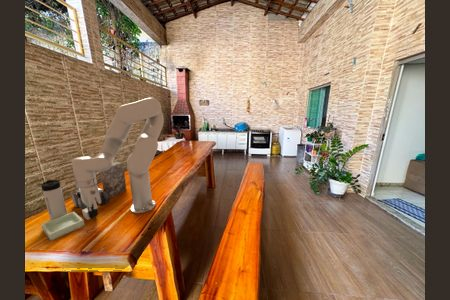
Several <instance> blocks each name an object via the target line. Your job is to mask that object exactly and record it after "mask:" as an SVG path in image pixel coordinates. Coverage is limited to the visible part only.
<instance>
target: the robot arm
mask: <svg viewBox="0 0 450 300" xmlns="http://www.w3.org/2000/svg"><path fill="white" fill-rule="evenodd" d="M144 120H145V123H144V125H143V127H142V130H141V132H140V134H139V135H138V137H137V139H136V143H135V146H134V149H133V151H132V152H131V153H130V154H129V155H128V156H127V160H126V169H127V171H128V176H129V185H130V192H131V198H132V205H131V206H130V209H129V210H130V211H131V212H132V213H134V214H142V213H143V214H144V213H147V212H149V211H151V210H153V209H154V207H155V206H156V201H155V200H154V199H153V197H152V189H151V182H150V180H151V178H150V171H149V168H150V166H151V164H152V162H153V159H154V157H155V155H156V154H157V151H158V147H159V143H158V139H159V136H160V134H161V131H162V129H163V127H164V124H165V123H164V122H165V119H164V114H163V111H162V104H161V102H160V101H159V100H158V99H156V98H154V97H147V98H144V99H141V100H137V101H135V102H130V103H126V104H123V105H120V106H118V107H117V108H116V110H115V115H114V117H113V119H112V121H111V123H110V125H109V127H108V129H107V131H106V132H105V137H104V138H105V139H104V142H103V144H102V145H101V147H100V150H99V152H98V153H97V156H96V157H92V156H90V155H89V156H88V155H87V156H86V155H85V156H77V157H74V158H73V159H72V160H71V164H72V169H73V172H74V175H75V179H74V181H75V180H76V184H77V188H79V189H80V194H81V199H82V202H83V203H84V204H85V205H86V206H87V209H88V214H89V218H91V219H94V218H96V217H98V216H99V213H98V208H99V207H98V204H99V205H101V204H102V201H101V198H100V194H99V191H98V188H97V186H98V185H97V184H98V179H97V174H96V173H99V172H104V171H107V170H109V169H110V168H111V166H112V163H114V161H115V159H116V156H117V155H118V153H119V151H120V149H121V147H122V145H123V144H124V143H125V141H126V139H127V138H128V136H129V133H130V132H131V129H132V128H133V126H134V124H135V123H137V122H138V123H139V122H141V121H144ZM74 175H73V176H74ZM76 184H75V185H76ZM77 188H76V189H77Z"/></svg>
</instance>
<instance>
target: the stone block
mask: <svg viewBox="0 0 450 300" xmlns="http://www.w3.org/2000/svg"><path fill="white" fill-rule="evenodd" d="M124 166H125V165H124V163H123V162H118V161H115V162H114V161H113V163H112V166H111V168H110V169H109V170H107V171H104V172H98V173H99V176H100V180H101V182H102V183H101V184H102V190H106V191H107V193H108V195H109V199H111V198H112V199H113V198H114V197H116V196H117V195H119V194H121V193H123V192H124V191H126V190H127V184H126V176H125V168H124Z"/></svg>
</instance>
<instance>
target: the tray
mask: <svg viewBox="0 0 450 300" xmlns="http://www.w3.org/2000/svg"><path fill="white" fill-rule="evenodd" d="M40 225H41V229H42V231H43V232H44V234H45V235H46V236H47V238H48V239H49V241H50V242H52V241H54V240H56V239H58V238H61V237H62V236H65V235H67V234H69V233H71V232H73V231H76V230H78V229H80V228H84V227H85V226H86V225H85V220H84V219H83V218H82V217H81V216H80V215H78V213H76V212H75V211H72V212H69V213H67V214H66V215H64V216H61V217H58V218H56V219H53V220H49V221H46V222H43V223H41V224H40Z"/></svg>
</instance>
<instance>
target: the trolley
mask: <svg viewBox="0 0 450 300" xmlns="http://www.w3.org/2000/svg"><path fill="white" fill-rule="evenodd" d="M72 173H73V178H74V183H75V188H76V192H73V193H71V199H72V203H73V204H74V207H76V208H79V210H80V211H81V212H82V210H83V209H85V208H87V206H86V205H85V204H84V203H83V202H82V199H81V194H80V189H79V188H77V184H76V180H75V175H74V171H73V172H72ZM97 188H98V191H99V194H100V198H101V204H103V205H105V204H107V203H110V198H109V195H108V193H107V191H106V190H103V188H101V187H100V186H98V185H97Z"/></svg>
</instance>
